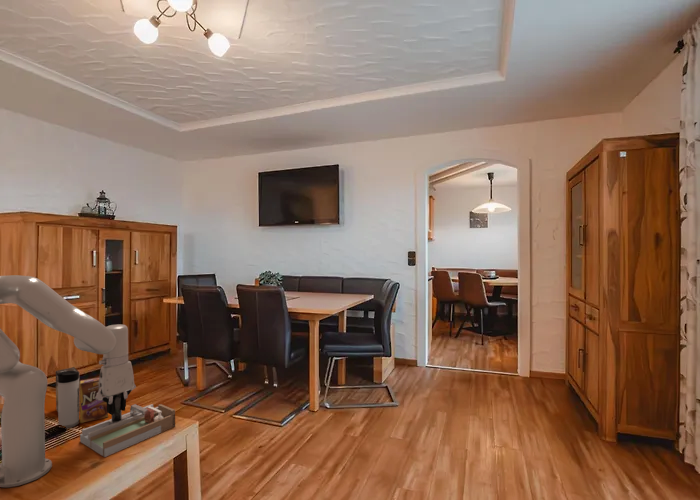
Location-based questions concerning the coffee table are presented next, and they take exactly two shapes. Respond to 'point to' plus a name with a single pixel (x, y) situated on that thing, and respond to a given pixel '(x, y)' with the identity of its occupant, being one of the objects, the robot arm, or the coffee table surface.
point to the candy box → (91, 401)
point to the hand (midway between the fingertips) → (116, 411)
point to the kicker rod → (133, 411)
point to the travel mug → (68, 398)
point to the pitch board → (126, 431)
